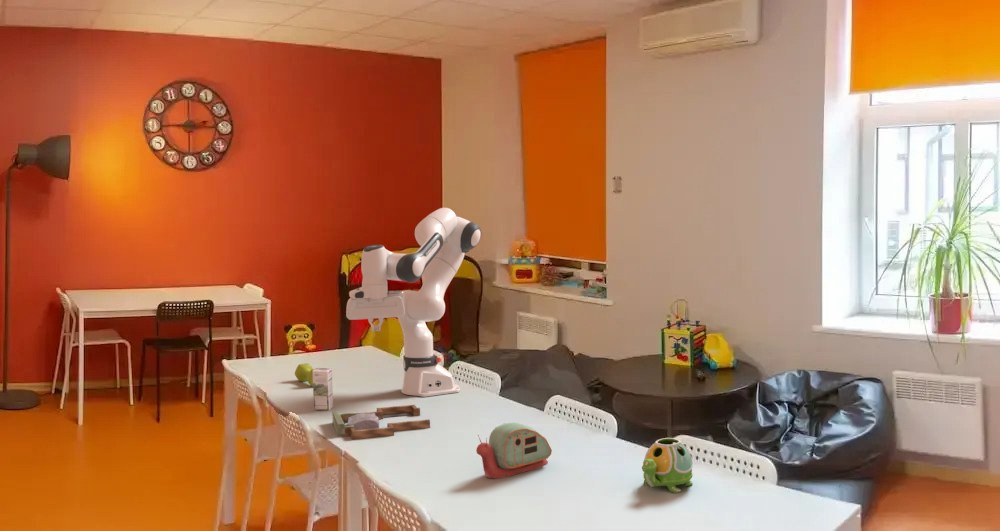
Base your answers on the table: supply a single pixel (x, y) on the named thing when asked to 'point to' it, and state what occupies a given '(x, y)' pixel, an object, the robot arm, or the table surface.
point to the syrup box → (322, 388)
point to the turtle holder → (667, 465)
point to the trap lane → (381, 413)
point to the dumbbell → (304, 373)
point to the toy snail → (513, 450)
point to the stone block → (364, 421)
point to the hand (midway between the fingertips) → (376, 330)
